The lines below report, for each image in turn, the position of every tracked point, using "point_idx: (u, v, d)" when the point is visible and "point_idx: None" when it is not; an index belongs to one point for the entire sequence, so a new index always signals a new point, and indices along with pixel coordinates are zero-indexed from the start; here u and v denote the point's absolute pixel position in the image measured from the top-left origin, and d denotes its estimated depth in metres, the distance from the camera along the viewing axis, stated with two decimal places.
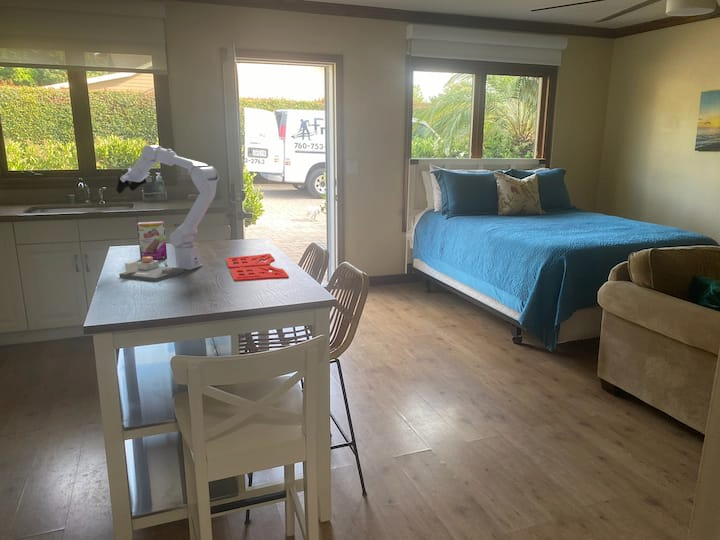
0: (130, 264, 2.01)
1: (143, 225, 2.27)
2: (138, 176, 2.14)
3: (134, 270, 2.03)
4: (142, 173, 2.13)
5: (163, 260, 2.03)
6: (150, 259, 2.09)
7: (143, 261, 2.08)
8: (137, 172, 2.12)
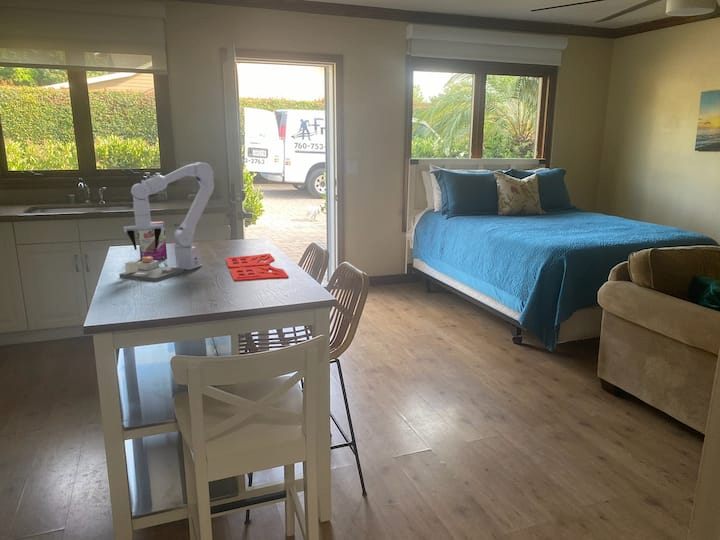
0: (130, 264, 2.01)
1: None
2: None
3: (134, 270, 2.03)
4: None
5: (163, 260, 2.03)
6: (150, 259, 2.09)
7: (143, 261, 2.08)
8: None
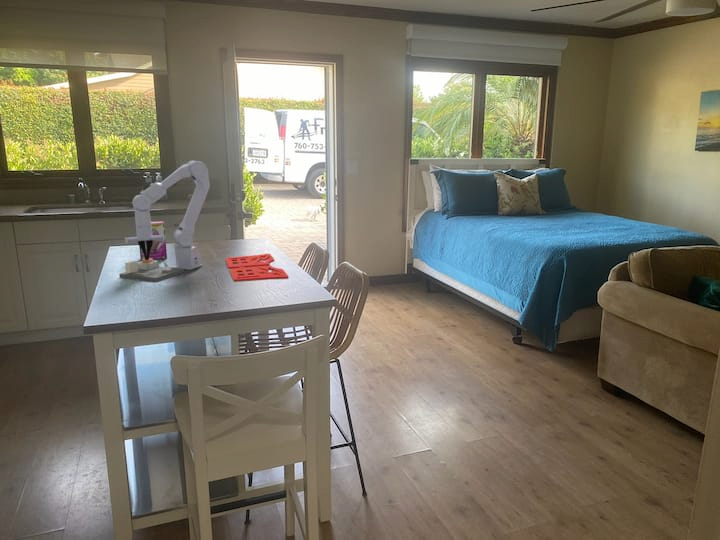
0: (130, 264, 2.01)
1: None
2: None
3: (134, 270, 2.03)
4: None
5: (163, 260, 2.03)
6: (150, 260, 2.09)
7: None
8: None
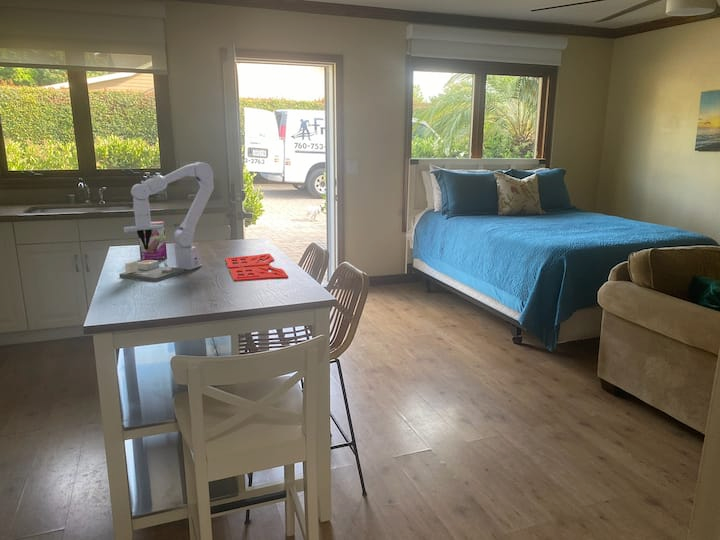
0: (130, 264, 2.01)
1: None
2: None
3: (134, 270, 2.03)
4: None
5: (163, 260, 2.03)
6: None
7: None
8: None
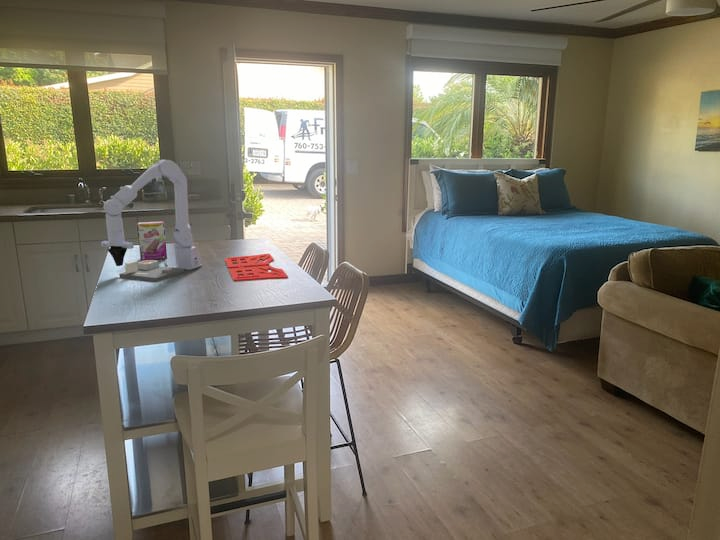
0: (130, 264, 2.01)
1: (143, 225, 2.27)
2: None
3: (134, 270, 2.03)
4: None
5: (163, 260, 2.03)
6: None
7: None
8: (123, 233, 2.02)
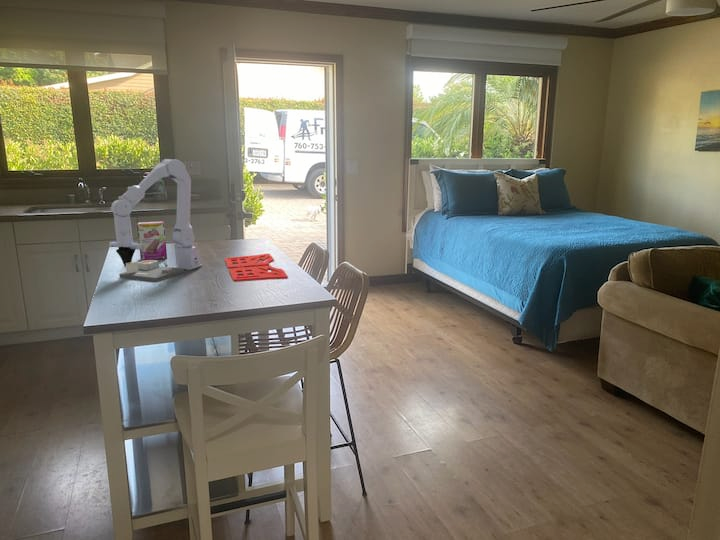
0: (131, 264, 2.01)
1: (143, 225, 2.27)
2: (132, 237, 2.02)
3: (135, 270, 2.03)
4: None
5: (163, 260, 2.03)
6: None
7: None
8: (131, 234, 2.00)
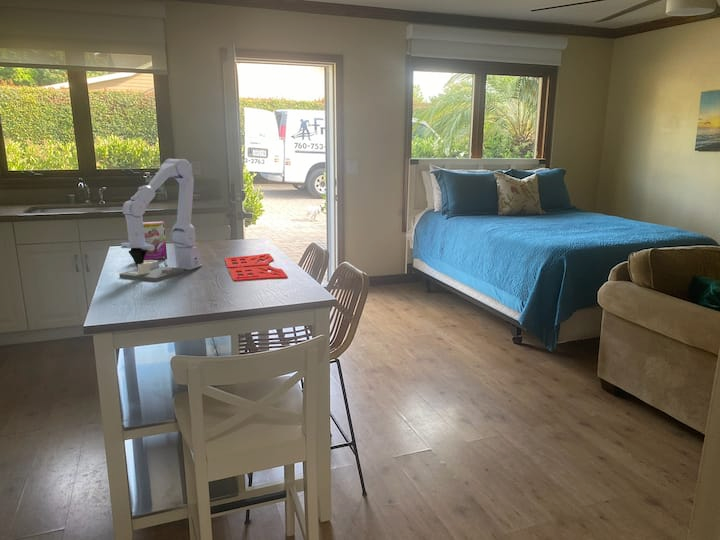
0: (143, 265, 1.98)
1: (143, 225, 2.27)
2: (144, 238, 1.99)
3: (146, 271, 2.01)
4: None
5: (163, 260, 2.03)
6: None
7: None
8: (143, 235, 1.98)
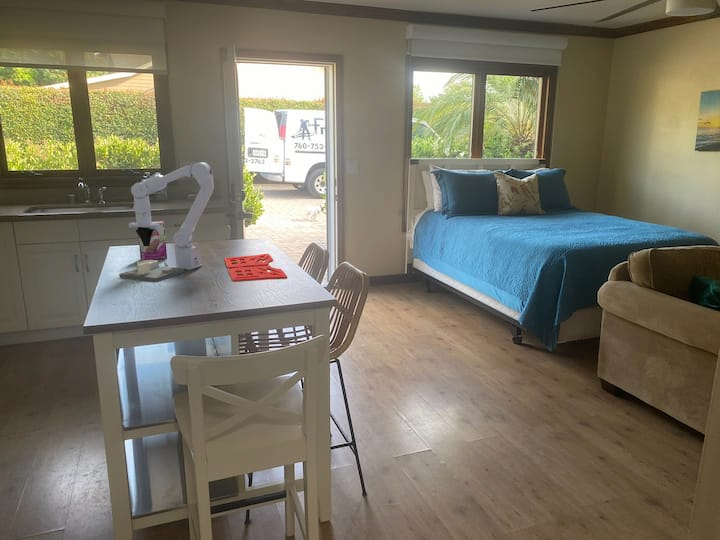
0: (142, 265, 1.98)
1: None
2: None
3: (146, 271, 2.01)
4: None
5: (163, 260, 2.03)
6: None
7: None
8: (150, 215, 2.11)
